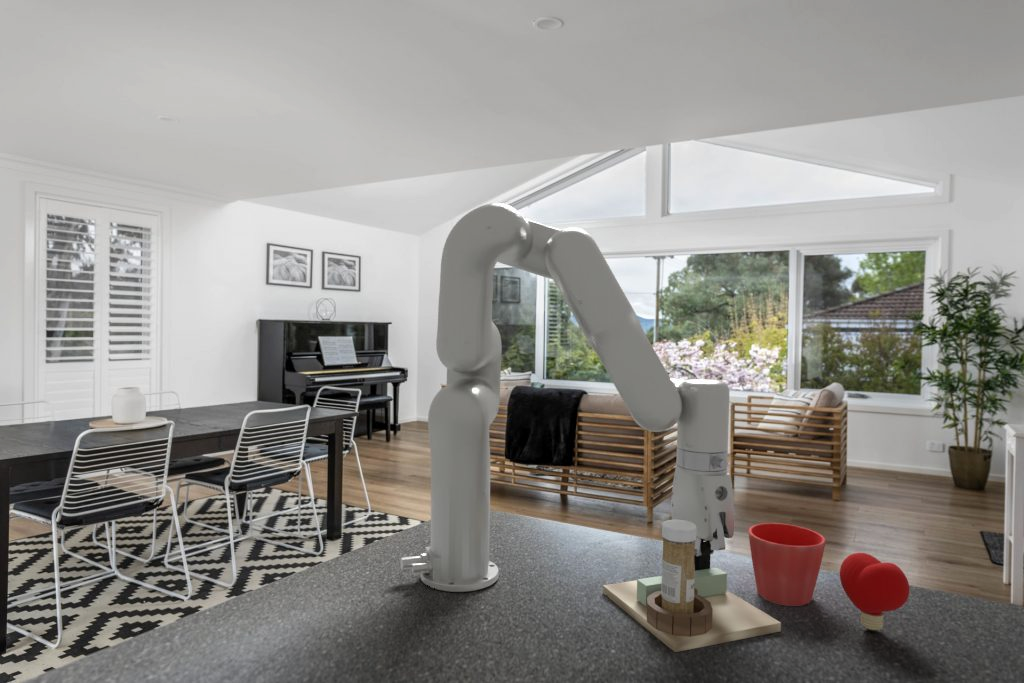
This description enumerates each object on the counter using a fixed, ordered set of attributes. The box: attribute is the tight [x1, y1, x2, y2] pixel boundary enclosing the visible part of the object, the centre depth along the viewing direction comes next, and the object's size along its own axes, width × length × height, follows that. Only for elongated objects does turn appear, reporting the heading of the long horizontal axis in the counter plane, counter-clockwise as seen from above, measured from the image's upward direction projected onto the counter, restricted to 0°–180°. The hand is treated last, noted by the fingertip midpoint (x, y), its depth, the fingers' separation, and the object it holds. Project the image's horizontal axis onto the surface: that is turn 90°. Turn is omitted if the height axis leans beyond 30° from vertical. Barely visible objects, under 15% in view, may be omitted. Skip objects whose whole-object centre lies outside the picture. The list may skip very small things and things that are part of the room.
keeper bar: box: [636, 567, 728, 606], centre depth 99 cm, size 14×2×4 cm, turn 111°
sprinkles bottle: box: [661, 518, 697, 614], centre depth 91 cm, size 5×5×14 cm
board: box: [602, 579, 782, 653], centre depth 97 cm, size 17×19×4 cm
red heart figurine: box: [839, 552, 910, 633], centre depth 91 cm, size 9×7×10 cm
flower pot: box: [748, 522, 826, 607], centre depth 103 cm, size 11×11×10 cm
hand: (698, 577), depth 103 cm, fingers closed
